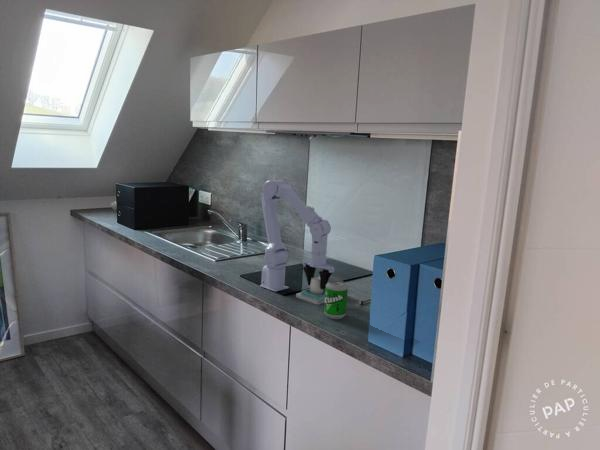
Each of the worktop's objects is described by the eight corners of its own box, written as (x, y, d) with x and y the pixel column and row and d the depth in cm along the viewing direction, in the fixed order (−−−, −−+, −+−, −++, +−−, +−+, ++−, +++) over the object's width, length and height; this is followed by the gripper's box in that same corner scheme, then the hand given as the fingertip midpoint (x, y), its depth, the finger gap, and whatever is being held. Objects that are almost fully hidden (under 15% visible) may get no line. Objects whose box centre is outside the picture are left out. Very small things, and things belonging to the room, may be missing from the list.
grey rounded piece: (306, 293, 176) (308, 277, 176) (318, 291, 181) (320, 276, 181) (316, 296, 173) (317, 280, 172) (327, 294, 178) (329, 279, 177)
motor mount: (295, 297, 177) (296, 278, 175) (325, 288, 190) (327, 271, 188) (319, 305, 168) (320, 286, 167) (348, 296, 182) (350, 278, 180)
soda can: (332, 310, 164) (334, 278, 162) (349, 316, 159) (352, 283, 157) (319, 315, 158) (321, 282, 156) (336, 321, 153) (339, 287, 151)
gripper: (297, 249, 176) (295, 284, 178) (326, 257, 166) (324, 293, 168) (310, 247, 181) (308, 281, 183) (338, 254, 171) (336, 289, 173)
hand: (316, 286), depth 176 cm, fingers open, 6 cm apart
